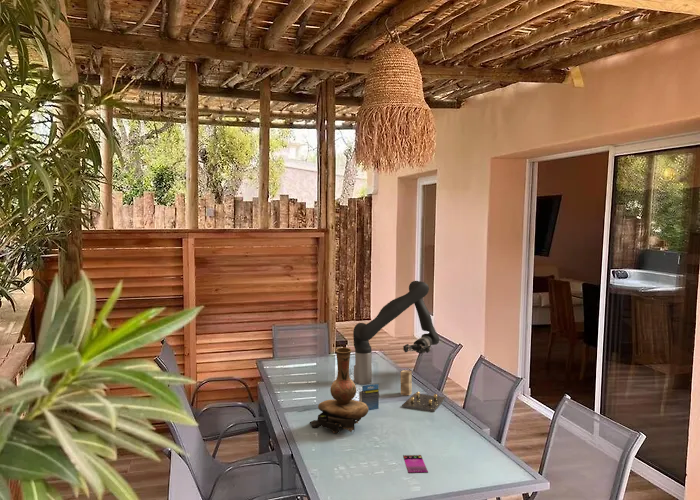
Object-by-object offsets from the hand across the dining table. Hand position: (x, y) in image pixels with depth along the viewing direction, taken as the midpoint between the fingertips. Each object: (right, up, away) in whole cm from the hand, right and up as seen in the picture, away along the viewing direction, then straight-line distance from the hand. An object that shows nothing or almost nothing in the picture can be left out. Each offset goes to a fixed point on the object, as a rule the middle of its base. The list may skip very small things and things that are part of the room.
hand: (412, 351), depth 296 cm
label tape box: (-25, -22, -32) cm, 46 cm away
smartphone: (-10, -25, -93) cm, 97 cm away
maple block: (-5, -21, -9) cm, 23 cm away
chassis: (+3, -21, -25) cm, 33 cm away
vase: (-39, -23, -55) cm, 71 cm away
